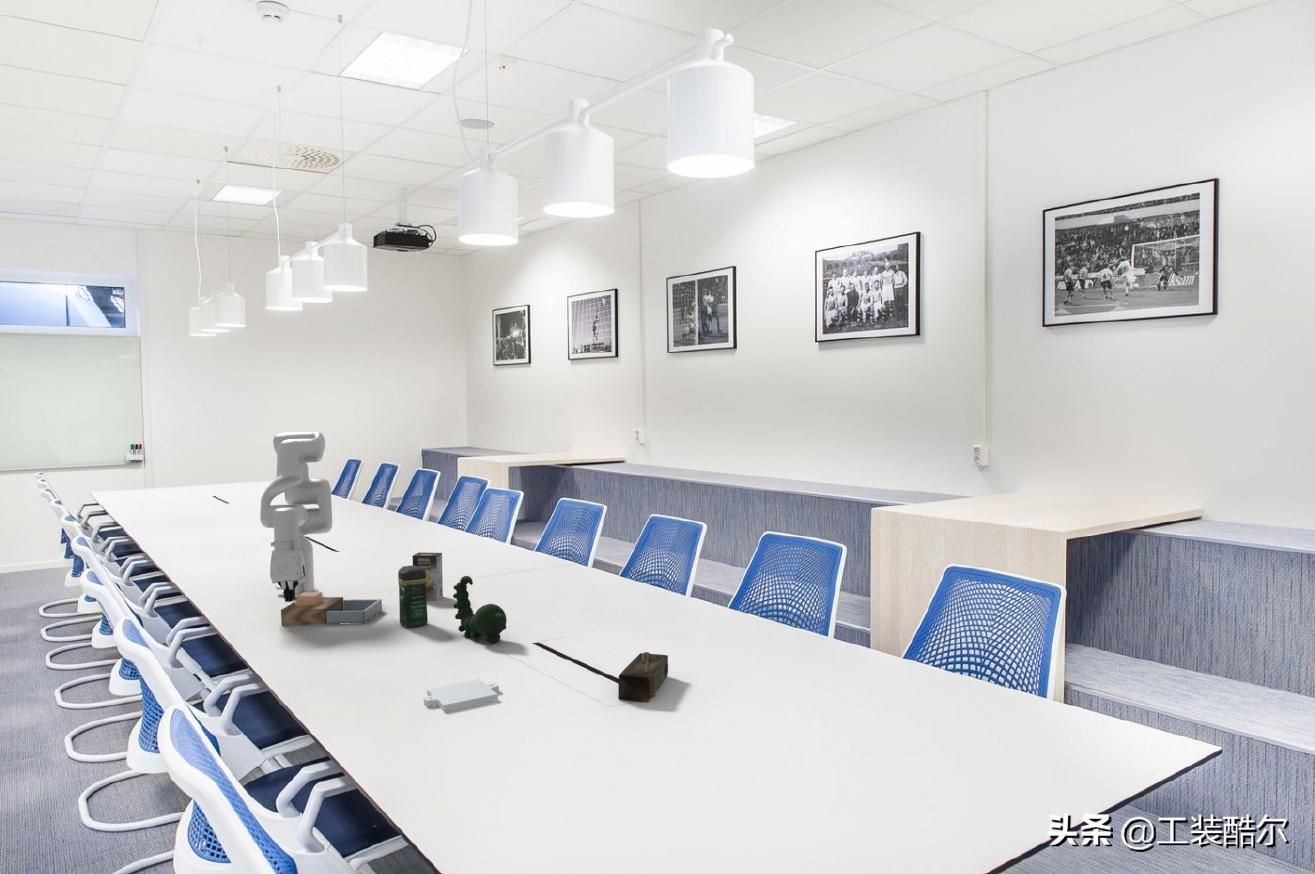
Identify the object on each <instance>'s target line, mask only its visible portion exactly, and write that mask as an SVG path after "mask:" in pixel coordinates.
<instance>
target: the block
mask: <svg viewBox="0 0 1315 874" xmlns="http://www.w3.org/2000/svg"><path fill="white" fill-rule="evenodd" d="M322 597H323V592H322V591H319V592H304V593H302V594H300V595H299V596H297V598H296V601H297V606H311V605H317V604H318V603H320V602H322V601H323V599H322Z"/></svg>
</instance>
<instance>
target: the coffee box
mask: <svg viewBox="0 0 1315 874" xmlns="http://www.w3.org/2000/svg"><path fill="white" fill-rule="evenodd" d="M412 565H415V566H416V567H419V568H422V569H424V570H425V571H426V594H427V601H439V600H440V599H441V598H443V596H444V586H443V583H444V582H443V581H444V579H443V553H442V552H426V551H425V552H417V553H415V554H413V555H412Z"/></svg>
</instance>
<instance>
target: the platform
mask: <svg viewBox="0 0 1315 874" xmlns="http://www.w3.org/2000/svg"><path fill="white" fill-rule="evenodd" d="M322 599H323V601H322V602H320V603H318V604H317V605H311V606H297V600H295V601H294V602H291V603H290V604H289V605H286V606H285V607H283V608H281V609H280V622H281V626H303V625H304V626H309V625H310V624H324V625H326V624H325V623H326V622H327V618H326V612H327V611H343V610H344V596H331V597H325V596H324V597H323V596H322ZM310 626H311V625H310Z"/></svg>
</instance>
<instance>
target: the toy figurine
mask: <svg viewBox="0 0 1315 874" xmlns="http://www.w3.org/2000/svg"><path fill="white" fill-rule="evenodd" d="M459 580H460V581H459V582H457V583H456V584H455V585H453V587H452V588H453V590H454V591H456V592H455V593H454V594H453V595H452V597H453V598H454V599H456V600H457V601H456V603H453V606H452V607H453V609H457V613H456V614H454V615H455V616H454V618H455V619H456V620H460V625H459V626H458V631H459V632H461V633H463V632H464V633H463V636H464V638H466V639H468V638H471V639H472V640H474V641H475V640H478V638H479V637H481V636H482V637H485V639H486V642H487V643H489V644H491V645H492V644H495V643H499V641H500V640H501V633H502V632H503V631H504V630H506V629H507V615H506V613H505V611H504V609H503V608H502V607H501V606H499V605H497V604H494V603H487V604H483V605H482V606H481V607H479V608H478V609H477V610H476V612H475V613H474V610H473V608H472V607H471V601H470V599H469V595H470V594H469V590H468V584H470V586H472V585H473V583H474V582H473V579H472V577H470V575H464V576H462V577H461V578H460V579H459Z"/></svg>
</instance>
